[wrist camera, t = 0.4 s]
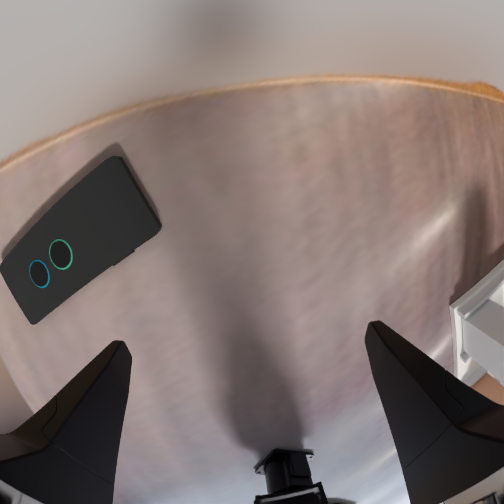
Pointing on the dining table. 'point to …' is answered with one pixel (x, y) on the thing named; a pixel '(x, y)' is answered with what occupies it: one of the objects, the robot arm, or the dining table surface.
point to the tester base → (490, 287)
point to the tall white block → (486, 337)
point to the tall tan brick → (490, 388)
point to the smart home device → (79, 239)
